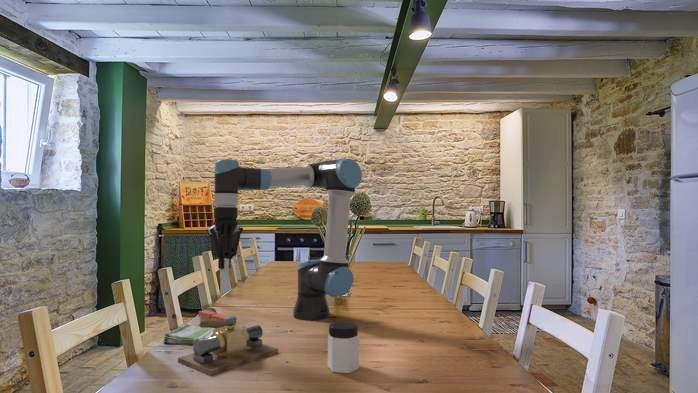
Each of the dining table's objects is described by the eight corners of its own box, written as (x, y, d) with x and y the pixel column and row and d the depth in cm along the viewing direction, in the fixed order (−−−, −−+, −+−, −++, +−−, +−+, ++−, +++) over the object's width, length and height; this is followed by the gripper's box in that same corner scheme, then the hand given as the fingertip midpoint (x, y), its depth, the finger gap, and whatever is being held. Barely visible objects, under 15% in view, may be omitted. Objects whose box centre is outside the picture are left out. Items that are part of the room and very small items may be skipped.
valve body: (251, 341, 142) (251, 315, 142) (265, 346, 138) (266, 318, 138) (189, 360, 125) (190, 329, 125) (204, 365, 120) (204, 334, 121)
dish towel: (186, 330, 160) (186, 321, 161) (246, 333, 158) (246, 323, 158) (160, 345, 143) (161, 334, 144) (228, 348, 141) (228, 337, 141)
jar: (342, 360, 129) (342, 319, 129) (364, 367, 124) (364, 324, 124) (321, 368, 122) (321, 325, 123) (343, 376, 117) (343, 331, 117)
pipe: (230, 319, 158) (243, 308, 167) (189, 316, 161) (203, 305, 171) (231, 335, 159) (243, 324, 168) (190, 332, 162) (204, 321, 172)
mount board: (244, 342, 146) (244, 338, 146) (277, 352, 136) (277, 348, 136) (178, 361, 127) (178, 357, 127) (210, 375, 117) (210, 370, 117)
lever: (238, 322, 132) (238, 317, 132) (228, 325, 129) (228, 319, 129) (207, 314, 142) (207, 309, 142) (197, 316, 139) (197, 311, 139)
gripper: (235, 206, 151) (233, 275, 150) (201, 206, 141) (199, 279, 140) (249, 207, 146) (247, 277, 146) (215, 206, 136) (213, 282, 136)
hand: (224, 278), depth 143 cm, fingers closed
